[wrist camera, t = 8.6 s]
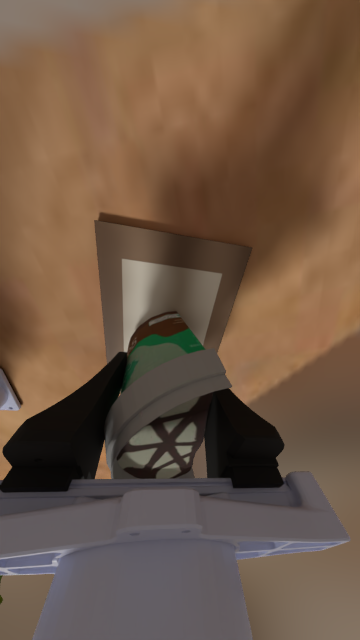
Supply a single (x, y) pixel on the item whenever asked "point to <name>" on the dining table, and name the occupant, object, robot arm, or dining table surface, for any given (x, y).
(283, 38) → the dining table surface
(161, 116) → the dining table surface
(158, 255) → the brown picture frame
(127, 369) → the food container
